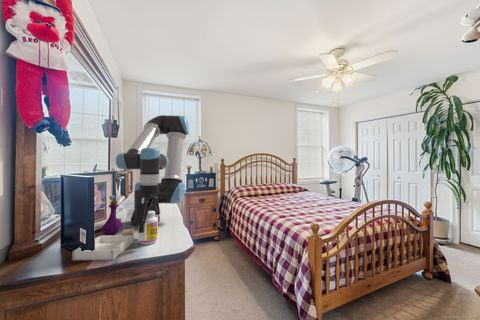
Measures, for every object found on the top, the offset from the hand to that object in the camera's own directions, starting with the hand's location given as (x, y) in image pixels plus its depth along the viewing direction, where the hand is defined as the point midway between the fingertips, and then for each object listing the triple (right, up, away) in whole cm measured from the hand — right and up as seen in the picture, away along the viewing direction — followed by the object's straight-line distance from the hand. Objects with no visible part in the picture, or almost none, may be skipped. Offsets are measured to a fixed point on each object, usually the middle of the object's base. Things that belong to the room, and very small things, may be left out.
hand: (148, 234), depth 88 cm
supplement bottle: (0, -4, 0) cm, 4 cm away
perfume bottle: (-22, -3, +10) cm, 24 cm away
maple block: (-10, -3, +2) cm, 11 cm away
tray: (-13, -3, -9) cm, 16 cm away
